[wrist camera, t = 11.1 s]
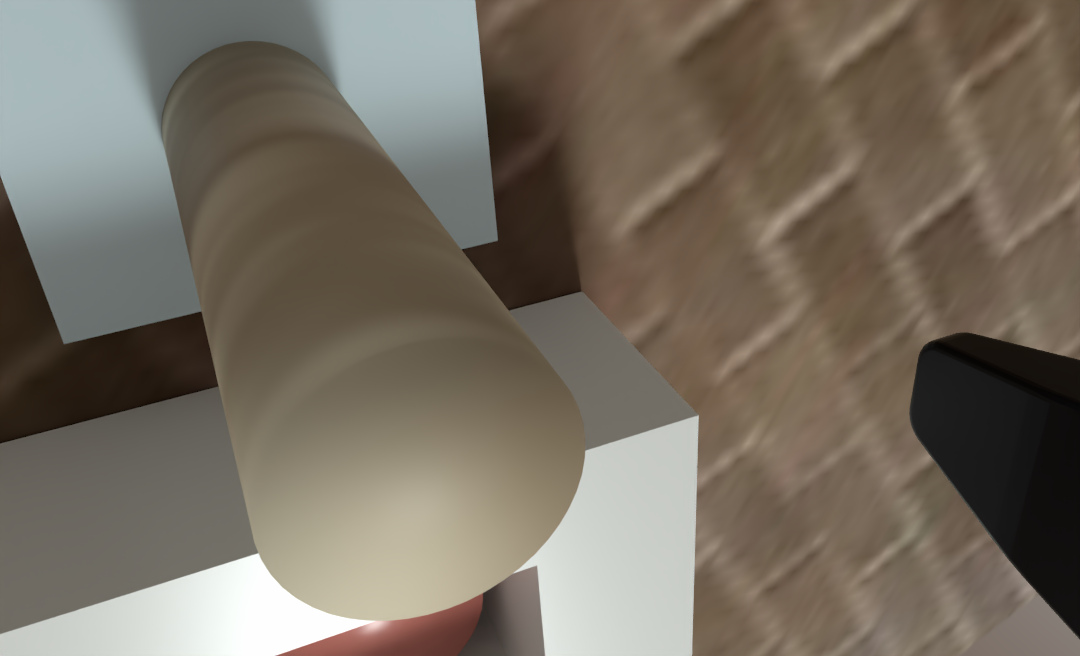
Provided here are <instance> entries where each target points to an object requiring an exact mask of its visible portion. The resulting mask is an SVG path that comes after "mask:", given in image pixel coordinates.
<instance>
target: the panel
mask: <svg viewBox="0 0 1080 656" xmlns="http://www.w3.org/2000/svg"><path fill="white" fill-rule="evenodd" d="M509 312H510V313H511V314H512V316H513V317H514V318H515V320H516V321H517V322H518V323H519V325H520V326H521V327H522V329H523V330H524V331H525V332H526V334H527V335H528V336H529V338H530V339H531V340H532V341H533V343H534V344H535V345H536V347H537V348H538V349H539V351H540V352H541V353H542V354H543V356H544V357H545V358H546V360H547V361H548V362H549V363H550V365H551V366H552V367H553V369H554V370H555V371H556V372H557V374H558V375H559V376H560V378H561V379H562V380H563V382H564V383H565V384H566V386H567V387H568V389H569V390H570V391H571V393H572V395H573V397H574V399H575V401H576V403H577V405H578V407H579V410H580V414H581V417H582V420H583V424H584V432H585V460H584V466H583V472H582V476H581V479H580V482H579V486H578V489H577V492H576V494H575V496H574V499H573V501H572V503H571V505H570V507H569V509H568V511H567V513H566V514H565V516H564V518H563V519H562V521H561V523H560V524H559V526H558V527H557V528H556V530H555V531H554V533H553V534H552V535H551V537H550V538H549V539H548V540H547V542H546V543H545V544H544V545H543V546H542V547H541V548H540V549H539V550H538V551H537V553H536V554H535V555H534V556H533V557H531V558H530V559H529V560H528V561H527V562H526V563H525V564H524V565H523V566H522V567H520V568H519V569H518V570H517V571H515V572H514V573H513V574H511V575H510V576H509V577H507V578H506V579H505V580H503V581H502V582H500V583H499V584H497V585H495V586H494V587H492V588H491V589H489V590H487V591H486V592H484V593H483V604H482V611H481V614H480V618H479V621H478V623H477V626H476V628H475V630H474V632H473V634H472V636H471V637H470V639H469V641H468V642H467V644H466V645H465V646H464V648H463V649H462V650H461V652H460V653H459V654H458V655H457V656H692V633H693V597H694V562H695V526H696V490H697V454H698V418H699V415H698V414H697V413H696V412H695V411H694V410H693V409H692V408H691V407H690V406H689V404H688V403H687V402H686V401H685V400H684V399H683V398H682V397H681V396H680V395H679V394H678V393H677V392H676V391H675V390H674V389H673V387H672V386H671V385H670V384H669V383H668V382H667V381H666V380H665V379H664V378H663V377H662V376H661V375H660V374H659V373H658V371H657V370H656V369H655V368H654V367H653V366H652V365H651V364H650V363H649V362H648V361H647V360H646V359H645V358H644V357H643V356H642V354H641V353H640V352H639V351H638V350H637V349H636V348H635V347H634V346H633V345H632V344H631V343H630V342H629V341H628V340H627V338H626V337H625V336H624V335H623V334H622V333H621V332H620V331H619V330H618V329H617V328H616V327H615V326H614V325H613V324H612V322H611V321H610V320H609V319H608V318H607V317H606V316H605V315H604V314H603V313H602V312H601V311H600V310H599V309H598V308H597V307H596V305H595V304H594V303H593V302H592V301H591V300H590V299H589V298H588V297H587V296H586V295H585V294H584V293H583V292H578V293H574V294H570V295H566V296H563V297H559V298H555V299H551V300H547V301H543V302H540V303H536V304H532V305H528V306H524V307H521V308H517V309H513V310H509ZM371 622H374V621H365V620H357V619H348V618H344V617H340V616H335V615H331V614H328V613H325V612H323V611H320V610H318V609H315V608H312V607H311V606H309V605H307V604H305V603H303V602H302V601H300V600H298V599H296V598H295V597H294V596H292V595H291V594H290V593H289V592H287V591H286V590H285V589H284V588H282V587H281V586H280V584H279V583H278V582H277V581H276V580H275V579H274V578H273V577H272V576H271V574H270V573H269V571H268V570H267V568H266V567H265V565H264V563H263V562H262V560H261V558H260V556H259V553H258V551H257V548H256V545H255V543H254V539H253V534H252V530H251V526H250V521H249V517H248V512H247V508H246V504H245V499H244V495H243V491H242V486H241V482H240V477H239V473H238V469H237V464H236V460H235V456H234V451H233V447H232V442H231V438H230V434H229V429H228V425H227V420H226V416H225V412H224V407H223V403H222V399H221V394H220V390H219V386H218V387H215V388H211V389H207V390H203V391H199V392H196V393H192V394H188V395H184V396H180V397H176V398H173V399H169V400H165V401H161V402H157V403H153V404H150V405H146V406H142V407H138V408H134V409H131V410H127V411H123V412H119V413H115V414H111V415H108V416H104V417H100V418H96V419H92V420H89V421H85V422H81V423H77V424H73V425H69V426H66V427H62V428H58V429H54V430H50V431H46V432H43V433H39V434H35V435H31V436H27V437H24V438H20V439H16V440H12V441H8V442H4V443H1V444H0V656H276V655H279V654H282V653H285V652H288V651H290V650H293V649H296V648H299V647H302V646H305V645H308V644H311V643H314V642H316V641H319V640H322V639H325V638H328V637H331V636H334V635H337V634H340V633H343V632H345V631H348V630H351V629H354V628H357V627H360V626H363V625H366V624H369V623H371Z"/></svg>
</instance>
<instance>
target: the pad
mask: <svg viewBox="0 0 1080 656" xmlns="http://www.w3.org/2000/svg"><path fill="white" fill-rule="evenodd" d="M243 41H263V42H269V43H275V44H278V45H282V46H285V47H288V48H290V49H292V50H294V51H297V52H299V53H300V54H302V55H304V56H305V57H307V58H308V59H310V60H311V61H312V62H313V63H315V64H316V65H317V66H318V67H319V68H320V69H321V70H322V71H323V72H324V73H325V74H326V76H327V77H328V78H329V79H330V81H331V82H332V83H333V85H334V86H335V87H336V88H337V90H338V91H339V92H340V94H341V95H342V96H343V97H344V99H345V100H346V101H347V103H348V104H349V105H350V106H351V108H352V109H353V110H354V112H355V113H356V114H357V116H358V117H359V118H360V119H361V121H362V122H363V123H364V125H365V126H366V127H367V128H368V130H369V131H370V132H371V134H372V135H373V136H374V137H375V139H376V140H377V141H378V143H379V144H380V145H381V147H382V148H383V149H384V150H385V152H386V153H387V154H388V156H389V157H390V158H391V159H392V161H393V162H394V163H395V165H396V166H397V167H398V168H399V170H400V171H401V172H402V174H403V175H404V176H405V177H406V179H407V180H408V181H409V183H410V184H411V185H412V187H413V188H414V189H415V190H416V192H417V193H418V194H419V196H420V197H421V198H422V199H423V201H424V202H425V203H426V205H427V206H428V207H429V208H430V210H431V211H432V212H433V214H434V215H435V216H436V218H437V219H438V220H439V221H440V223H441V224H442V225H443V227H444V228H445V229H446V230H447V232H448V233H449V234H450V236H451V237H452V238H453V239H454V241H455V242H456V243H457V245H458V246H459V247H460V249H465V248H469V247H474V246H478V245H482V244H486V243H490V242H495V241H498V236H497V226H496V215H495V205H494V194H493V184H492V173H491V163H490V152H489V142H488V131H487V121H486V110H485V100H484V89H483V78H482V68H481V57H480V47H479V36H478V26H477V15H476V5H475V0H0V176H1V179H2V182H3V184H4V187H5V189H6V192H7V195H8V197H9V200H10V203H11V205H12V208H13V211H14V213H15V216H16V219H17V221H18V224H19V226H20V229H21V232H22V234H23V237H24V240H25V242H26V245H27V248H28V250H29V253H30V256H31V258H32V261H33V263H34V266H35V269H36V271H37V274H38V277H39V279H40V282H41V285H42V287H43V290H44V293H45V295H46V298H47V301H48V303H49V306H50V308H51V311H52V314H53V316H54V319H55V322H56V324H57V327H58V330H59V332H60V335H61V338H62V340H63V343H64V344H67V343H71V342H75V341H80V340H84V339H88V338H92V337H96V336H101V335H105V334H109V333H113V332H117V331H122V330H126V329H130V328H134V327H138V326H142V325H147V324H151V323H155V322H159V321H163V320H168V319H172V318H176V317H180V316H184V315H189V314H193V313H197V312H201V307H200V302H199V298H198V293H197V289H196V285H195V280H194V276H193V272H192V267H191V263H190V258H189V254H188V250H187V245H186V241H185V236H184V232H183V228H182V223H181V219H180V215H179V210H178V206H177V201H176V197H175V193H174V188H173V184H172V180H171V175H170V171H169V166H168V162H167V158H166V153H165V149H164V144H163V139H162V114H163V110H164V105H165V102H166V99H167V96H168V94H169V91H170V90H171V88H172V86H173V84H174V83H175V81H176V80H177V78H178V77H179V76H180V74H181V73H182V72H183V71H184V70H185V69H186V68H187V67H188V66H189V65H190V64H191V63H192V62H193V61H195V60H196V59H197V58H199V57H200V56H202V55H203V54H205V53H207V52H209V51H211V50H213V49H215V48H218V47H221V46H223V45H227V44H231V43H235V42H243Z"/></svg>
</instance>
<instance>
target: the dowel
mask: <svg viewBox="0 0 1080 656" xmlns="http://www.w3.org/2000/svg"><path fill="white" fill-rule="evenodd" d="M162 139H163V144H164V149H165V153H166V158H167V162H168V166H169V171H170V175H171V180H172V184H173V188H174V193H175V197H176V201H177V206H178V210H179V215H180V219H181V223H182V228H183V232H184V236H185V241H186V245H187V250H188V254H189V258H190V263H191V267H192V272H193V276H194V280H195V285H196V289H197V293H198V298H199V302H200V307H201V311H202V315H203V320H204V324H205V328H206V333H207V337H208V342H209V346H210V350H211V355H212V359H213V364H214V368H215V372H216V377H217V381H218V385H219V390H220V394H221V399H222V403H223V407H224V412H225V416H226V420H227V425H228V429H229V434H230V438H231V442H232V447H233V451H234V456H235V460H236V464H237V469H238V473H239V477H240V482H241V486H242V491H243V495H244V499H245V504H246V508H247V512H248V517H249V521H250V526H251V530H252V534H253V539H254V543H255V545H256V548H257V551H258V553H259V556H260V558H261V560H262V562H263V563H264V565H265V567H266V568H267V570H268V571H269V573H270V574H271V576H272V577H273V578H274V579H275V580H276V581H277V582H278V583H279V584H280V586H281V587H282V588H284V589H285V590H286V591H287V592H289V593H290V594H291V595H292V596H294V597H295V598H296V599H298V600H300V601H302V602H303V603H305V604H307V605H309V606H311V607H312V608H315V609H318V610H320V611H323V612H325V613H328V614H331V615H335V616H340V617H344V618H348V619H357V620H365V621H391V620H401V619H409V618H414V617H419V616H424V615H429V614H432V613H435V612H439V611H442V610H445V609H449V608H451V607H453V606H456V605H458V604H461V603H463V602H466V601H468V600H470V599H472V598H474V597H476V596H478V595H480V594H482V593H484V592H486V591H487V590H489V589H491V588H492V587H494V586H495V585H497V584H499V583H500V582H502V581H503V580H505V579H506V578H507V577H509V576H510V575H511V574H513V573H514V572H515V571H517V570H518V569H519V568H520V567H522V566H523V565H524V564H525V563H526V562H527V561H528V560H529V559H530V558H531V557H533V556H534V555H535V554H536V553H537V551H538V550H539V549H540V548H541V547H542V546H543V545H544V544H545V543H546V542H547V540H548V539H549V538H550V537H551V535H552V534H553V533H554V531H555V530H556V528H557V527H558V526H559V524H560V523H561V521H562V519H563V518H564V516H565V514H566V513H567V511H568V509H569V507H570V505H571V503H572V501H573V499H574V496H575V494H576V492H577V489H578V486H579V482H580V479H581V476H582V472H583V466H584V460H585V432H584V424H583V420H582V417H581V414H580V410H579V407H578V405H577V403H576V401H575V399H574V397H573V395H572V393H571V391H570V390H569V389H568V387H567V386H566V384H565V383H564V382H563V380H562V379H561V378H560V376H559V375H558V374H557V372H556V371H555V370H554V369H553V367H552V366H551V365H550V363H549V362H548V361H547V360H546V358H545V357H544V356H543V354H542V353H541V352H540V351H539V349H538V348H537V347H536V345H535V344H534V343H533V341H532V340H531V339H530V338H529V336H528V335H527V334H526V332H525V331H524V330H523V329H522V327H521V326H520V325H519V323H518V322H517V321H516V320H515V318H514V317H513V316H512V314H511V313H510V312H509V310H508V309H507V308H506V307H505V305H504V304H503V303H502V301H501V300H500V299H499V298H498V296H497V295H496V294H495V292H494V291H493V290H492V289H491V287H490V286H489V285H488V283H487V282H486V281H485V279H484V278H483V277H482V276H481V274H480V273H479V272H478V270H477V269H476V268H475V267H474V265H473V264H472V263H471V261H470V260H469V259H468V258H467V256H466V255H465V254H464V252H463V251H462V250H461V249H460V247H459V246H458V245H457V243H456V242H455V241H454V239H453V238H452V237H451V236H450V234H449V233H448V232H447V230H446V229H445V228H444V227H443V225H442V224H441V223H440V221H439V220H438V219H437V218H436V216H435V215H434V214H433V212H432V211H431V210H430V208H429V207H428V206H427V205H426V203H425V202H424V201H423V199H422V198H421V197H420V196H419V194H418V193H417V192H416V190H415V189H414V188H413V187H412V185H411V184H410V183H409V181H408V180H407V179H406V177H405V176H404V175H403V174H402V172H401V171H400V170H399V168H398V167H397V166H396V165H395V163H394V162H393V161H392V159H391V158H390V157H389V156H388V154H387V153H386V152H385V150H384V149H383V148H382V147H381V145H380V144H379V143H378V141H377V140H376V139H375V137H374V136H373V135H372V134H371V132H370V131H369V130H368V128H367V127H366V126H365V125H364V123H363V122H362V121H361V119H360V118H359V117H358V116H357V114H356V113H355V112H354V110H353V109H352V108H351V106H350V105H349V104H348V103H347V101H346V100H345V99H344V97H343V96H342V95H341V94H340V92H339V91H338V90H337V88H336V87H335V86H334V85H333V83H332V82H331V81H330V79H329V78H328V77H327V76H326V74H325V73H324V72H323V71H322V70H321V69H320V68H319V67H318V66H317V65H316V64H315V63H313V62H312V61H311V60H310V59H308V58H307V57H305V56H304V55H302V54H300V53H299V52H297V51H294V50H292V49H290V48H288V47H285V46H282V45H278V44H275V43H269V42H263V41H243V42H235V43H231V44H227V45H223V46H221V47H218V48H215V49H213V50H211V51H209V52H207V53H205V54H203V55H202V56H200V57H199V58H197V59H196V60H195V61H193V62H192V63H191V64H190V65H189V66H188V67H187V68H186V69H185V70H184V71H183V72H182V73H181V74H180V76H179V77H178V78H177V80H176V81H175V83H174V84H173V86H172V88H171V90H170V91H169V94H168V96H167V99H166V102H165V105H164V110H163V114H162Z"/></svg>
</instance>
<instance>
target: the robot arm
mask: <svg viewBox="0 0 1080 656" xmlns="http://www.w3.org/2000/svg"><path fill="white" fill-rule="evenodd" d="M909 414H910V422H911V425H912V428H913V431H914V433H915V435H916V436H917V438H918V440H919V441H920V442H921V444H922V445H923V446H924V448H925V449H926V450H927V452H928V453H929V454H930V456H931V457H932V458H933V460H934V461H935V462H936V464H937V465H938V467H939V468H940V469H941V471H942V472H943V473H944V475H945V476H946V477H947V479H948V480H949V481H950V483H951V484H952V485H953V487H954V488H955V489H956V491H957V492H958V493H959V495H960V496H961V497H962V499H963V500H964V501H965V503H966V504H967V506H968V507H969V508H970V510H971V511H972V512H973V514H974V515H975V516H976V518H977V519H978V520H979V522H980V523H981V524H982V526H983V527H984V528H985V530H986V531H987V532H988V534H989V535H990V536H991V538H992V539H993V540H994V542H995V543H996V544H997V546H998V547H999V548H1000V549H1001V551H1002V552H1003V553H1004V555H1005V556H1006V557H1007V558H1008V560H1009V561H1010V562H1011V563H1012V564H1013V565H1014V567H1015V568H1016V569H1017V570H1018V571H1019V572H1020V574H1021V575H1022V576H1023V577H1024V578H1025V579H1026V581H1027V582H1028V583H1029V584H1030V585H1031V586H1032V587H1033V588H1034V589H1035V591H1036V592H1037V593H1038V594H1039V595H1040V596H1041V597H1042V598H1043V599H1044V600H1045V602H1046V603H1047V604H1048V605H1049V606H1050V607H1051V608H1052V609H1053V610H1054V612H1055V613H1056V614H1057V615H1058V616H1059V617H1060V618H1061V619H1062V620H1063V622H1064V623H1065V624H1066V625H1067V626H1068V627H1069V628H1070V629H1071V630H1072V631H1073V633H1075V635H1076V636H1077V637H1078V638H1079V639H1080V360H1078V359H1074V358H1070V357H1066V356H1062V355H1057V354H1053V353H1049V352H1045V351H1041V350H1037V349H1033V348H1029V347H1025V346H1021V345H1017V344H1013V343H1009V342H1005V341H1001V340H997V339H993V338H989V337H985V336H981V335H976V334H972V333H956V334H953V335H949V336H946V337H943V338H940V339H936V340H933V341H931V342H929V343H927V344H926V345H925V346H924V347H923V349H922V350H921V352H920V354H919V357H918V363H917V368H916V374H915V380H914V386H913V392H912V398H911V404H910V412H909Z"/></svg>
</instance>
